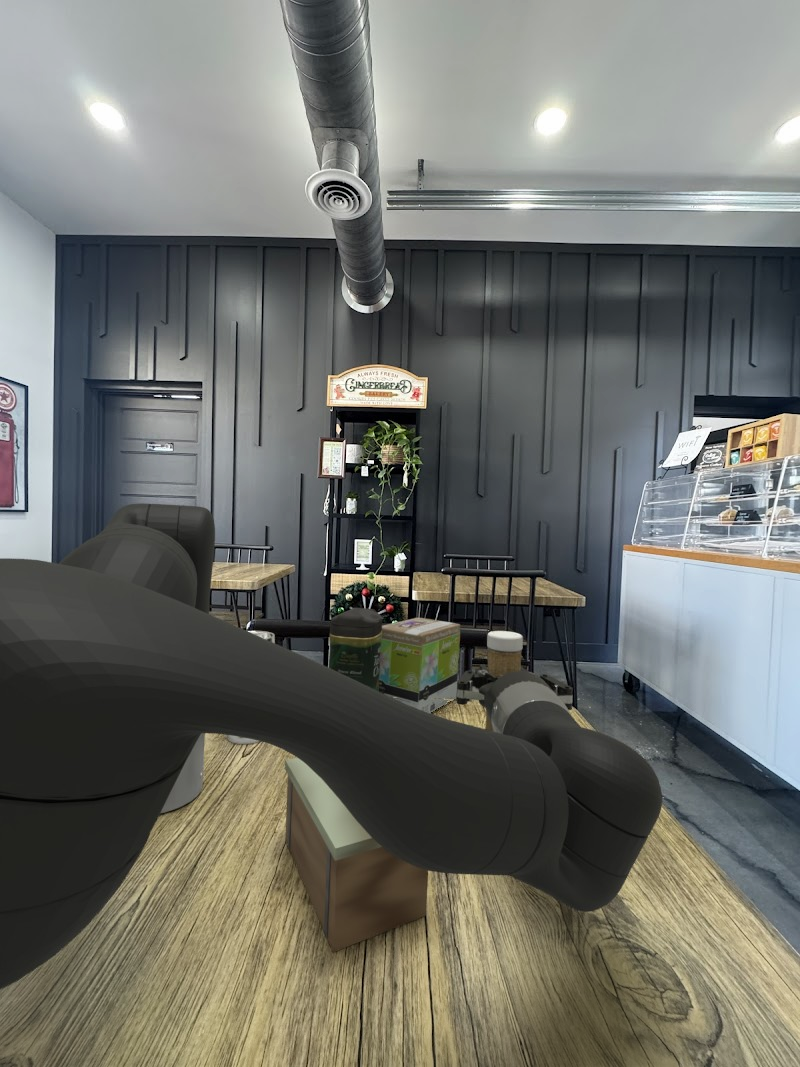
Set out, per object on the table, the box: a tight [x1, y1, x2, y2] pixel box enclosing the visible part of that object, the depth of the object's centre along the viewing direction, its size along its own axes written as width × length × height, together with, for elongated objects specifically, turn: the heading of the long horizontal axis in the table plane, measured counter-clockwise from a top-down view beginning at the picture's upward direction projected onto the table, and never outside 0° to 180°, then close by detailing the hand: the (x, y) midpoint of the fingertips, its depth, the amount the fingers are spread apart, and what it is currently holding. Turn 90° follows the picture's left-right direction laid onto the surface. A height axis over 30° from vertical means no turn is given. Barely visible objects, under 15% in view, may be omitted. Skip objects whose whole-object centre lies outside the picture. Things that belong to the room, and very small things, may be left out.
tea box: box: [379, 617, 461, 714], centre depth 86 cm, size 15×10×15 cm
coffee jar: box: [328, 607, 383, 691], centre depth 76 cm, size 10×8×19 cm
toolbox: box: [284, 757, 429, 953], centre depth 43 cm, size 8×15×9 cm, turn 28°
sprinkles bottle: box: [484, 630, 524, 731], centre depth 62 cm, size 5×5×14 cm
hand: (500, 672), depth 65 cm, fingers closed on sprinkles bottle, 4 cm apart
